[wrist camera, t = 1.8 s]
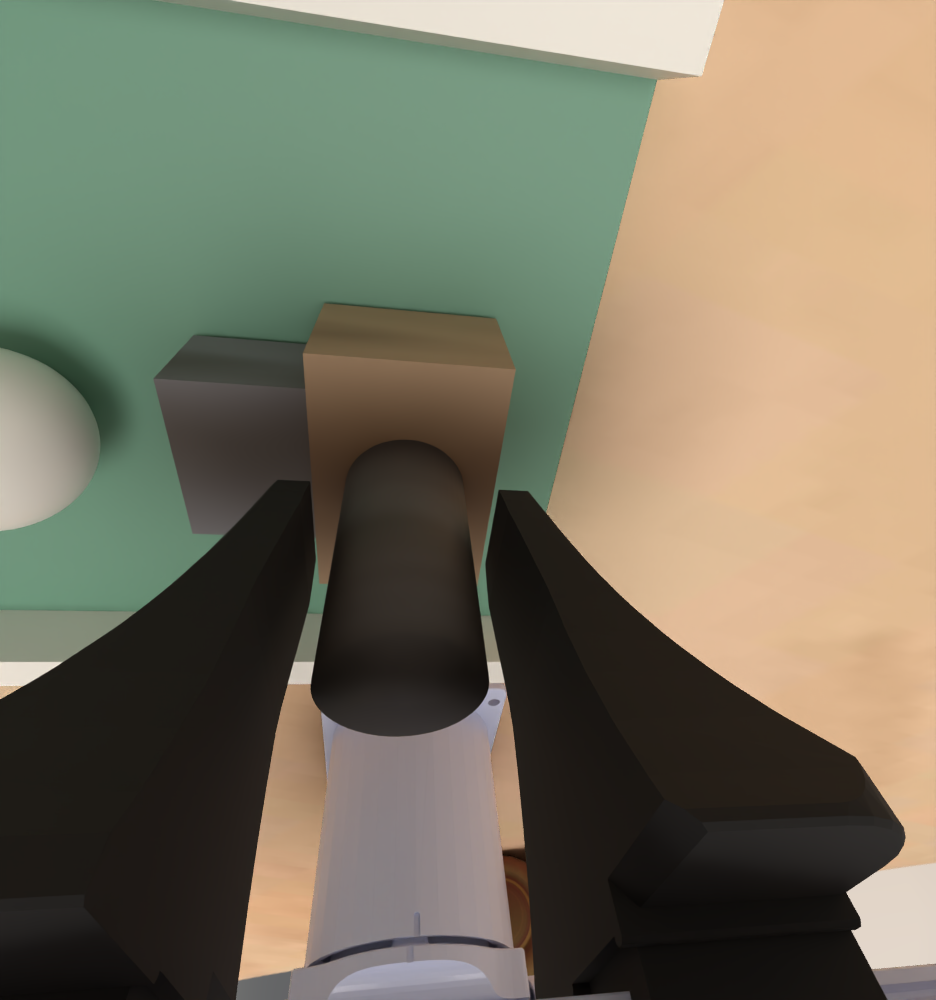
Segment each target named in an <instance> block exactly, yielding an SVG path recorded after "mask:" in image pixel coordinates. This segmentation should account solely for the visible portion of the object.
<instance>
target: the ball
mask: <svg viewBox="0 0 936 1000" xmlns="http://www.w3.org/2000/svg"><path fill="white" fill-rule="evenodd" d="M99 455H100V435H99V429H98V425H97V422H96V419H95V417H94V415H93V412H92V410H91V409H90V407H89V405H88V403H87V402H86V400H85V399H84V397H83V396H82V395H81V393H80V392H79V391H78V390H77V389H76V388H75V387H74V386H73V385H72V384H71V383H70V382H69V381H68V380H67V379H66V378H64V377H63V376H62V375H60V374H59V373H58V372H56V371H55V370H53V369H52V368H50V367H49V366H47V365H45V364H43V363H41V362H39V361H38V360H35V359H33V358H31V357H28V356H26V355H23V354H20V353H17V352H14V351H11V350H8V349H4V348H0V531H4V530H12V529H17V528H21V527H25V526H28V525H32V524H35V523H37V522H40V521H43V520H45V519H47V518H49V517H51V516H53V515H55V514H57V513H58V512H60V511H61V510H63V509H64V508H66V507H67V506H68V505H70V504H71V503H72V502H73V501H74V500H75V499H76V498H77V497H78V496H79V495H80V494H81V493H82V492H83V491H84V490H85V488H86V487H87V485H88V484H89V483H90V481H91V479H92V477H93V475H94V473H95V470H96V468H97V465H98V461H99Z"/></svg>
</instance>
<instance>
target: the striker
mask: <svg viewBox="0 0 936 1000" xmlns="http://www.w3.org/2000/svg"><path fill="white" fill-rule="evenodd" d="M515 371H516V369H515V366H514V364H513V361H512V359H511V356H510V353H509V351H508V348H507V346H506V343H505V340H504V338H503V335H502V333H501V330H500V327H499V325H498V322H497V320H496V319H495V318H483V317H472V316H461V315H450V314H439V313H427V312H416V311H405V310H394V309H383V308H371V307H360V306H349V305H338V304H327V303H324V305H323V307H322V309H321V312H320V314H319V316H318V319H317V321H316V323H315V326H314V328H313V330H312V333H311V335H310V337H309V340H308V342H307V344H298V343H285V342H272V341H259V340H247V339H234V338H221V337H209V336H196V335H193V336H192V337H191V338H190V339H189V341H188V342H187V343H186V344H185V345H184V346H183V347H182V348H181V349H180V350H179V351H178V352H177V353H176V355H175V356H174V357H173V358H172V359H171V360H170V361H169V362H168V363H167V364H166V365H165V366H164V368H163V369H162V370H161V371H160V372H159V373H158V374H157V375H156V376H155V377H154V378H153V380H154V384H155V388H156V392H157V396H158V399H159V403H160V407H161V411H162V415H163V419H164V423H165V427H166V431H167V435H168V439H169V443H170V447H171V451H172V455H173V459H174V463H175V467H176V471H177V475H178V479H179V482H180V486H181V490H182V494H183V498H184V502H185V506H186V510H187V514H188V518H189V522H190V526H191V530H192V534H212V535H225V534H226V533H227V532H228V531H229V530H230V529H231V528H232V527H233V526H234V525H235V524H236V523H237V522H238V521H239V520H240V519H241V518H242V517H243V516H244V515H245V513H246V512H247V511H248V510H249V509H250V508H251V507H252V506H253V505H254V504H255V503H256V502H257V501H258V499H259V498H260V497H261V496H262V495H263V494H264V493H265V492H266V491H267V489H268V488H269V487H270V486H271V485H272V484H273V483H274V482H276V481H277V480H295V481H310V485H311V498H312V512H313V525H314V538H316V544H317V558H318V572H319V584H328V586H327V592H326V598H325V603H324V609H323V615H322V621H321V626H320V632H319V638H318V644H317V649H316V655H315V661H314V667H313V673H312V678H311V694H312V698H313V700H314V702H315V704H316V705H317V707H318V708H319V710H320V711H321V712H322V713H323V714H324V715H325V716H327V717H328V718H329V719H331V720H332V721H334V722H336V723H337V724H339V725H341V726H344V727H346V728H348V729H351V730H354V731H357V732H361V733H365V734H370V735H376V736H387V737H402V736H414V735H421V734H426V733H431V732H434V731H438V730H441V729H444V728H447V727H449V726H451V725H454V724H456V723H458V722H460V721H461V720H463V719H465V718H466V717H468V716H469V715H470V714H472V713H473V712H474V711H475V710H476V709H477V708H478V707H479V706H480V705H481V703H482V702H483V700H484V699H485V697H486V695H487V692H488V689H489V673H488V666H487V658H486V651H485V643H484V636H483V628H482V621H481V613H480V606H479V598H478V591H477V585H478V579H479V574H480V568H481V562H482V557H483V551H484V545H485V540H486V534H487V528H488V523H489V517H490V512H491V506H492V500H493V495H494V489H495V483H496V478H497V472H498V467H499V461H500V455H501V450H502V444H503V438H504V433H505V427H506V422H507V416H508V410H509V405H510V399H511V393H512V388H513V382H514V377H515Z"/></svg>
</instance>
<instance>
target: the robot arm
mask: <svg viewBox="0 0 936 1000" xmlns="http://www.w3.org/2000/svg"><path fill="white" fill-rule="evenodd" d="M315 563H316V552H315V538H314V525H313V512H312V498H311V485H310V481H295V480H277V481H276V482H274V483H273V484H272V485H271V486H270V487H269V488H268V489H267V491H266V492H265V493H264V494H263V495H262V496H261V497H260V498H259V499H258V501H257V502H256V503H255V504H254V505H253V506H252V507H251V508H250V509H249V510H248V511H247V512H246V513H245V515H244V516H243V517H242V518H241V519H240V520H239V521H238V522H237V523H236V524H235V525H234V526H233V527H232V528H231V529H230V530H229V531H228V532H227V533H226V534H225V535H224V536H223V537H222V538H221V539H220V540H219V541H218V542H217V543H216V544H215V545H214V546H213V547H212V548H211V549H210V550H209V551H208V552H207V553H206V554H204V555H203V556H202V557H201V558H200V559H199V560H198V561H197V562H196V563H194V564H193V565H192V566H191V567H190V568H189V569H188V570H187V571H186V572H184V573H183V574H182V575H181V576H180V577H179V578H178V579H177V580H175V581H174V582H173V583H172V584H171V585H170V586H168V587H167V588H166V589H165V590H163V591H162V592H161V593H160V594H159V595H157V596H156V597H155V598H154V599H152V600H151V601H150V602H149V603H147V604H146V605H145V606H143V607H142V608H141V609H139V610H138V611H137V612H136V613H134V614H133V615H132V616H130V617H129V618H128V619H126V620H125V621H124V622H122V623H121V624H119V625H118V626H117V627H115V628H114V629H112V630H111V631H109V632H108V633H106V634H105V635H103V636H102V637H100V638H99V639H97V640H96V641H94V642H93V643H91V644H90V645H88V646H87V647H85V648H83V649H82V650H80V651H79V652H77V653H76V654H74V655H73V656H71V657H70V658H68V659H67V660H65V661H64V662H62V663H61V664H59V665H58V666H56V667H54V668H53V669H51V670H50V671H48V672H46V673H45V674H43V675H41V676H40V677H38V678H36V679H35V680H33V681H31V682H30V683H28V684H26V685H24V686H23V687H21V688H19V689H18V690H16V691H14V692H13V693H11V694H9V695H7V696H6V697H4V698H2V699H0V1000H236V993H237V985H238V977H239V970H240V962H241V955H242V947H243V940H244V933H245V925H246V918H247V910H248V903H249V896H250V890H251V883H252V876H253V869H254V863H255V856H256V849H257V842H258V836H259V830H260V823H261V817H262V811H263V805H264V798H265V792H266V786H267V780H268V774H269V768H270V762H271V757H272V751H273V745H274V739H275V733H276V728H277V724H278V720H279V715H280V711H281V707H282V703H283V699H284V696H285V692H286V688H287V685H288V681H289V678H290V674H291V670H292V667H293V663H294V659H295V656H296V652H297V649H298V645H299V641H300V638H301V634H302V630H303V627H304V623H305V619H306V616H307V612H308V608H309V604H310V598H311V591H312V585H313V578H314V570H315ZM485 568H486V581H487V593H488V604H489V610H490V615H491V620H492V625H493V630H494V635H495V640H496V644H497V649H498V654H499V658H500V663H501V668H502V672H503V677H504V682H505V685H504V684H502V683H489V689H488V692H487V695H486V697H485V699H484V700H483V702H482V703H481V705H480V706H479V707H478V708H477V709H476V710H475V711H474V712H473V713H472V714H470V715H469V716H468V717H466V718H465V719H463V720H461V721H460V722H458V723H456V724H454V725H451V726H449V727H447V728H444V729H441V730H438V731H434V732H431V733H426V734H421V735H414V736H402V737H387V736H376V735H370V734H365V733H361V732H357V731H354V730H351V729H348V728H346V727H344V726H341V725H339V724H337V723H336V722H334V721H332V720H331V719H329V718H328V717H327V716H325V715H324V714H323V713H322V712H321V717H322V728H323V740H324V751H325V763H326V774H327V788H326V796H325V804H324V812H323V820H322V828H321V836H320V845H319V853H318V861H317V869H316V877H315V885H314V893H313V901H312V909H311V917H310V925H309V933H308V941H307V950H306V958H305V966H304V968H296V969H293V971H292V973H291V980H290V987H289V995H288V1000H936V964H927V965H917V966H906V967H895V968H883V969H871V967H870V965H869V964H868V962H867V960H866V958H865V956H864V954H863V952H862V951H861V949H860V947H859V945H858V943H857V941H856V939H855V937H854V935H853V933H852V931H851V930H856V929H858V928H859V927H861V921H860V917H859V915H858V913H857V912H856V910H855V908H854V906H853V904H852V902H851V901H850V899H849V897H848V895H847V893H846V892H847V891H848V890H850V889H851V888H853V887H854V886H856V885H857V884H859V883H860V882H862V881H863V880H865V879H866V878H868V877H869V876H870V875H872V874H873V873H875V872H877V871H878V870H880V869H881V868H883V867H884V866H885V865H887V864H888V863H889V862H890V861H891V860H893V859H894V858H895V857H896V856H897V855H898V854H899V852H900V851H901V849H902V847H903V846H904V842H905V838H906V837H905V832H904V827H903V826H902V825H901V823H900V822H899V820H898V819H897V817H896V816H895V814H894V813H893V811H892V810H891V808H890V807H889V805H888V804H887V802H886V801H885V799H884V798H883V796H882V795H881V793H880V792H879V791H878V789H877V788H876V786H875V785H874V783H873V782H872V780H871V779H870V777H869V776H868V774H867V773H866V771H865V770H864V768H863V767H862V766H861V764H860V763H859V761H858V760H857V759H856V757H854V756H853V755H851V754H849V753H847V752H846V751H844V750H842V749H840V748H839V747H837V746H835V745H833V744H831V743H830V742H828V741H826V740H824V739H823V738H821V737H819V736H817V735H816V734H814V733H812V732H810V731H809V730H807V729H805V728H803V727H801V726H800V725H798V724H796V723H794V722H793V721H791V720H789V719H787V718H786V717H784V716H782V715H780V714H779V713H777V712H776V711H774V710H772V709H771V708H769V707H768V706H766V705H764V704H763V703H761V702H760V701H758V700H757V699H755V698H754V697H752V696H750V695H749V694H747V693H746V692H744V691H743V690H741V689H739V688H738V687H736V686H735V685H733V684H732V683H730V682H729V681H728V680H726V679H725V678H723V677H722V676H720V675H719V674H717V673H716V672H714V671H713V670H712V669H710V668H709V667H707V666H706V665H705V664H703V663H702V662H701V661H699V660H698V659H697V658H695V657H694V656H693V655H691V654H690V653H689V652H687V651H686V650H684V649H683V648H682V647H680V646H679V645H678V644H676V643H675V642H674V641H673V640H671V639H670V638H669V637H668V636H666V635H665V634H664V633H663V632H661V631H660V630H659V629H658V628H657V627H655V626H654V625H653V624H652V623H651V622H650V621H649V620H647V619H646V618H645V617H644V616H643V615H642V614H640V613H639V612H638V611H637V610H636V609H635V608H633V607H632V606H631V605H630V604H629V603H628V602H627V601H626V600H625V599H624V598H623V597H621V596H620V595H619V594H618V593H617V592H616V591H615V590H614V589H613V588H612V587H611V586H610V585H609V584H608V583H607V582H606V581H605V580H604V579H603V578H602V577H601V576H600V575H599V574H598V573H597V572H596V571H595V569H594V568H593V567H592V566H591V565H590V564H589V563H588V562H587V561H586V560H585V559H584V557H583V556H582V555H581V554H580V553H579V552H578V551H577V550H576V548H575V547H574V546H573V545H572V544H571V543H570V542H569V540H568V539H567V538H566V537H565V536H564V534H563V533H562V532H561V531H560V530H559V528H558V527H557V526H556V525H555V523H554V522H553V521H552V520H551V519H550V517H549V516H548V515H547V514H546V512H545V511H544V510H543V509H542V507H541V506H540V505H539V504H538V502H537V501H536V500H535V499H534V497H533V496H532V495H531V494H530V493H529V491H518V490H499V491H498V496H497V502H496V507H495V513H494V518H493V524H492V529H491V534H490V540H489V545H488V551H487V556H486V562H485ZM506 691H507V694H506ZM506 695H507V696H508V701H509V706H510V712H511V718H512V724H513V731H514V740H515V749H516V758H517V767H518V777H519V787H520V797H521V808H522V818H523V828H524V841H525V853H526V865H527V877H528V889H529V904H530V919H531V934H532V949H533V967H534V975H533V976H528V975H527V968H526V960H525V952H524V949H523V948H514V947H513V939H512V930H511V922H510V914H509V905H508V897H507V889H506V880H505V872H504V864H503V855H502V847H501V839H500V830H499V822H498V814H497V805H496V797H495V789H494V780H493V772H492V764H491V755H490V754H491V751H492V747H493V743H494V740H495V736H496V732H497V728H498V725H499V721H500V717H501V714H502V710H503V706H504V703H505V699H506Z"/></svg>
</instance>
